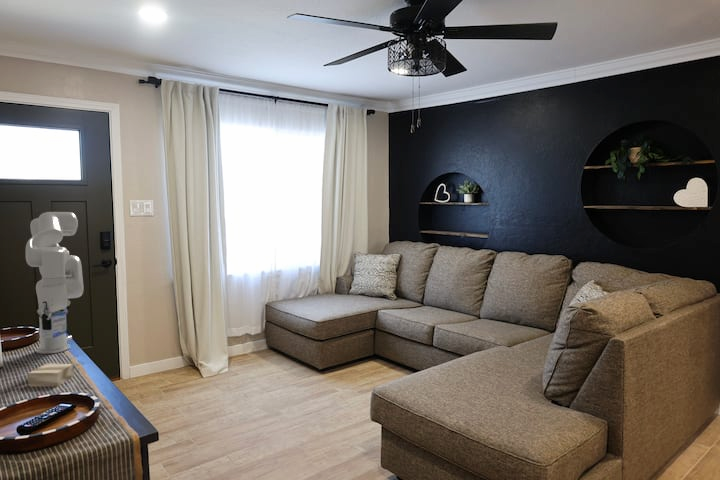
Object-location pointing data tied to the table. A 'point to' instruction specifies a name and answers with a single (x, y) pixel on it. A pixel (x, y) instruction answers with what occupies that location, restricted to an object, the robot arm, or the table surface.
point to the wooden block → (51, 375)
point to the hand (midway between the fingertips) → (55, 326)
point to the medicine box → (56, 325)
